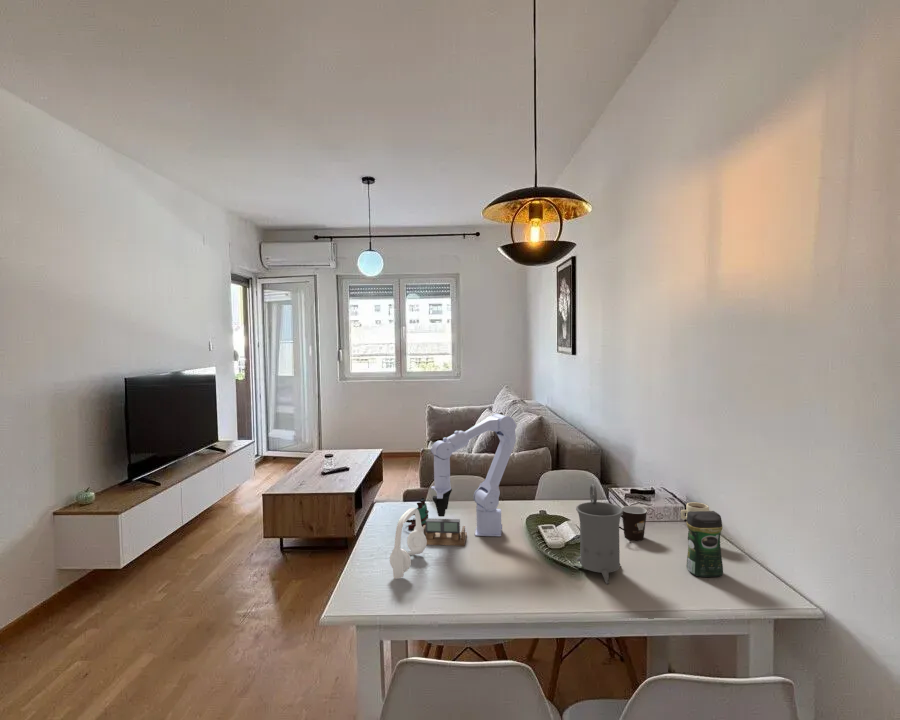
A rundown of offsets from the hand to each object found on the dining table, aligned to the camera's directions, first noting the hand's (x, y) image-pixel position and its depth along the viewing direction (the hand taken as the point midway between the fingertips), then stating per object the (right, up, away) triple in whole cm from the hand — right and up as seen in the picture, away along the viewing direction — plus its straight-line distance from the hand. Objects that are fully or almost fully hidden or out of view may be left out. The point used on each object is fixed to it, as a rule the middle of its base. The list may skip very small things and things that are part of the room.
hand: (442, 512), depth 188 cm
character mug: (+88, -9, -6) cm, 89 cm away
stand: (0, -10, 0) cm, 10 cm away
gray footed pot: (+48, -10, -27) cm, 56 cm away
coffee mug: (+66, -9, -1) cm, 67 cm away
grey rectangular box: (0, -7, 0) cm, 7 cm away
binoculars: (-10, -10, +14) cm, 20 cm away
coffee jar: (+79, -10, -29) cm, 85 cm away
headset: (-11, -11, -21) cm, 26 cm away
